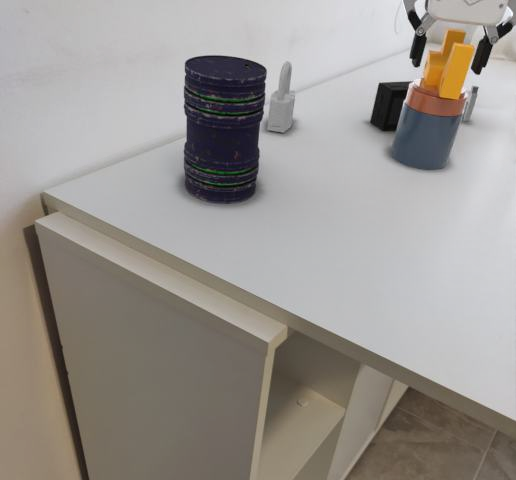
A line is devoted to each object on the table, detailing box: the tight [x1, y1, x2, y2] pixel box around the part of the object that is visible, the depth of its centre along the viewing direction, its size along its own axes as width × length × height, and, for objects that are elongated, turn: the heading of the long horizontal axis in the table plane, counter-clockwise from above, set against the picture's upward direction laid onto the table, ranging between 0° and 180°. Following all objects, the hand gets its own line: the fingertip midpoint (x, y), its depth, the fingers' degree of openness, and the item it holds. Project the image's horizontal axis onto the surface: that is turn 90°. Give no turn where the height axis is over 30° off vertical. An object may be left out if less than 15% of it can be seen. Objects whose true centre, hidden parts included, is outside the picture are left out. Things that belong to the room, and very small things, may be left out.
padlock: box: [266, 61, 296, 134], centre depth 89 cm, size 7×4×10 cm, turn 166°
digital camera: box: [369, 80, 414, 132], centre depth 95 cm, size 10×5×7 cm, turn 114°
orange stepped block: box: [422, 27, 476, 100], centre depth 77 cm, size 12×4×6 cm, turn 170°
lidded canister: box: [389, 77, 468, 170], centre depth 83 cm, size 9×9×11 cm
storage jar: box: [183, 54, 268, 204], centre depth 68 cm, size 10×10×15 cm
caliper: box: [461, 85, 480, 122], centre depth 108 cm, size 20×1×6 cm, turn 171°
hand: (445, 68), depth 78 cm, fingers open, 8 cm apart
